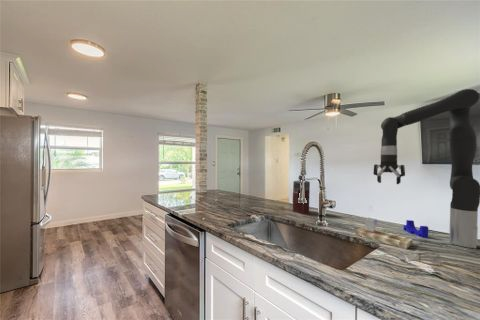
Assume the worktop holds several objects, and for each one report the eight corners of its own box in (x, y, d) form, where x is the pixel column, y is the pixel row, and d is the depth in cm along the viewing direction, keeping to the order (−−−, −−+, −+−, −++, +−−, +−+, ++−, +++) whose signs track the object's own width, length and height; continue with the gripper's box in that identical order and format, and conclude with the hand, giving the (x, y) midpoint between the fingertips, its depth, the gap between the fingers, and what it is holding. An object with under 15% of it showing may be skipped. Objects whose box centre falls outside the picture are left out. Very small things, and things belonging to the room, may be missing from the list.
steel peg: (376, 236, 111) (376, 219, 111) (373, 238, 109) (373, 220, 109) (367, 234, 114) (368, 217, 114) (364, 235, 112) (365, 218, 112)
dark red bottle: (290, 211, 160) (291, 174, 160) (298, 209, 167) (299, 174, 167) (301, 214, 153) (302, 175, 153) (309, 212, 161) (310, 175, 161)
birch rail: (412, 244, 102) (412, 238, 102) (406, 249, 96) (406, 243, 96) (363, 231, 119) (363, 226, 119) (355, 234, 113) (355, 229, 113)
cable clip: (403, 230, 124) (403, 220, 124) (411, 230, 123) (411, 220, 123) (418, 237, 112) (419, 226, 112) (428, 238, 111) (428, 226, 111)
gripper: (406, 154, 114) (406, 184, 114) (376, 154, 125) (376, 181, 125) (402, 153, 109) (402, 185, 109) (371, 154, 120) (371, 182, 120)
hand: (388, 183), depth 117 cm, fingers open, 8 cm apart
